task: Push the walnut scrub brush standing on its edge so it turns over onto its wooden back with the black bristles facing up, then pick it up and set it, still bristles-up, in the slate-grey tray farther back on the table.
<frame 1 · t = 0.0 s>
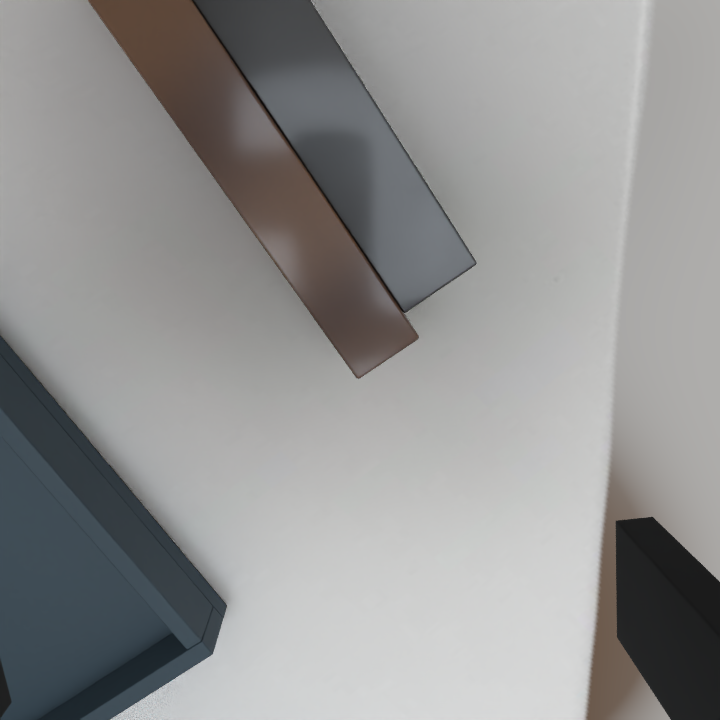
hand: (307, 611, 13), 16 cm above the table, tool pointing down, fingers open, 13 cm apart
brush: (284, 124, 26), on the table
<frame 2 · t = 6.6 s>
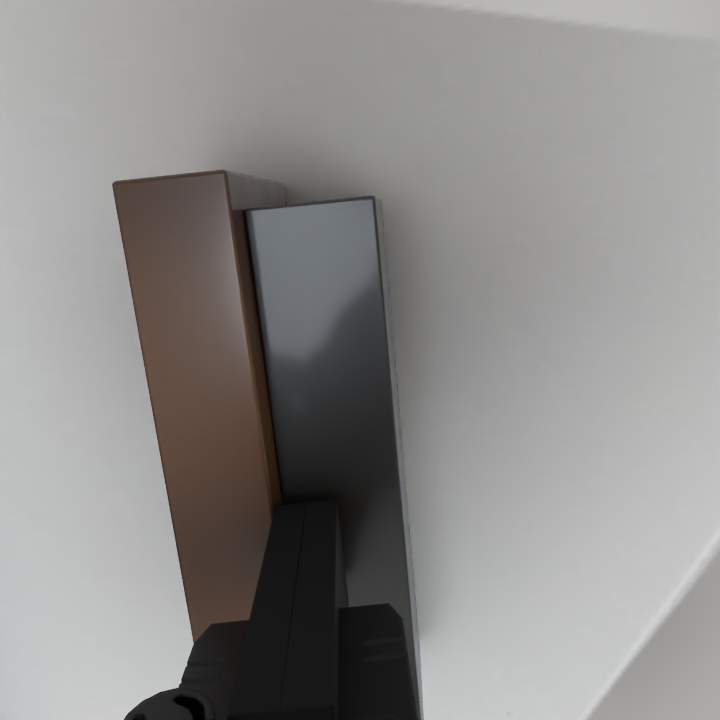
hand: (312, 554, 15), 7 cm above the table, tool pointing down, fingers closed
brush: (323, 450, 22), on the table, touching gripper
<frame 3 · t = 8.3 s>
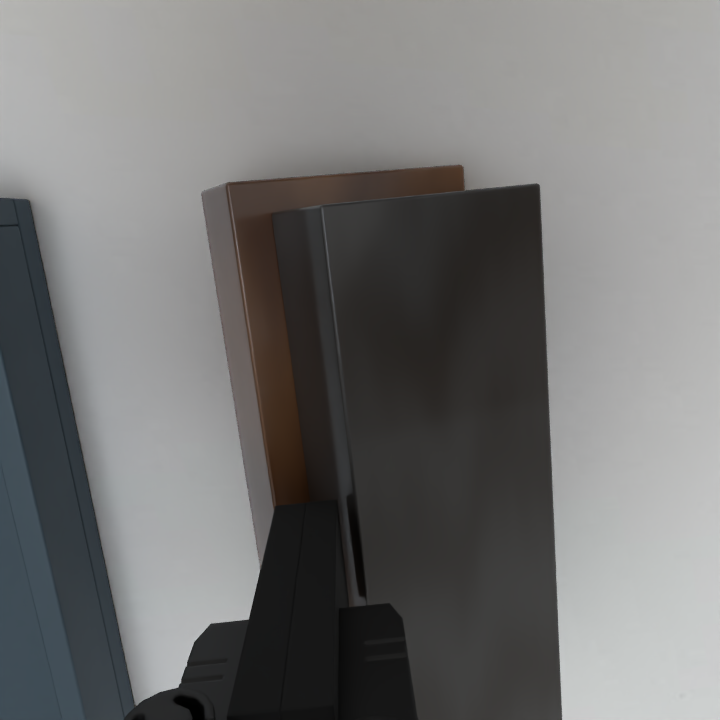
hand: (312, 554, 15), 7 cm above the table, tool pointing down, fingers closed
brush: (489, 461, 20), point 2 cm above the table, tilted 64°, touching gripper
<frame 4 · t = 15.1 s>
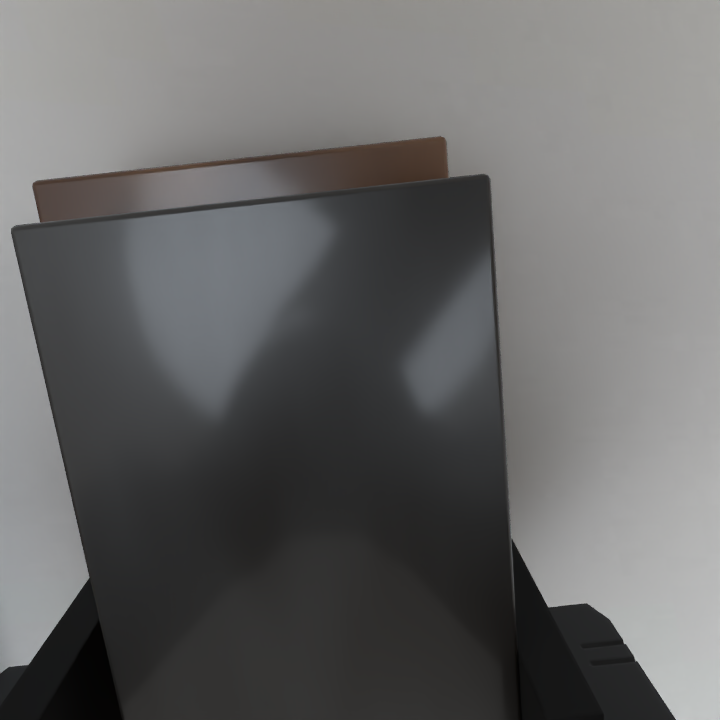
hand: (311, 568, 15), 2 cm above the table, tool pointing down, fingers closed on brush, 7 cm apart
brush: (483, 617, 12), point 4 cm above the table, tilted 90°, touching gripper
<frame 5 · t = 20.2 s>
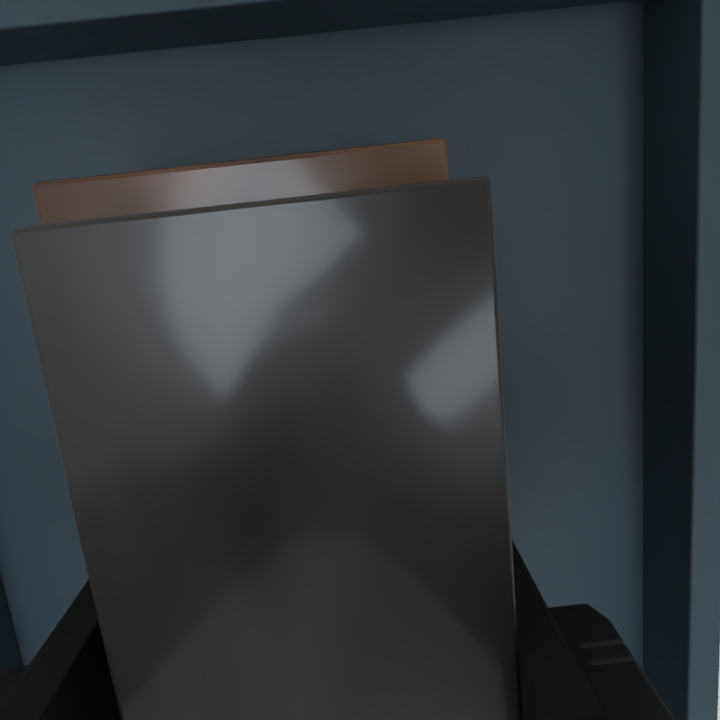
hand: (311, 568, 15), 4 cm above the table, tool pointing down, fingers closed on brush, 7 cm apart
tray: (319, 495, 18), on the table
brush: (484, 619, 12), point 6 cm above the table, tilted 90°, touching gripper
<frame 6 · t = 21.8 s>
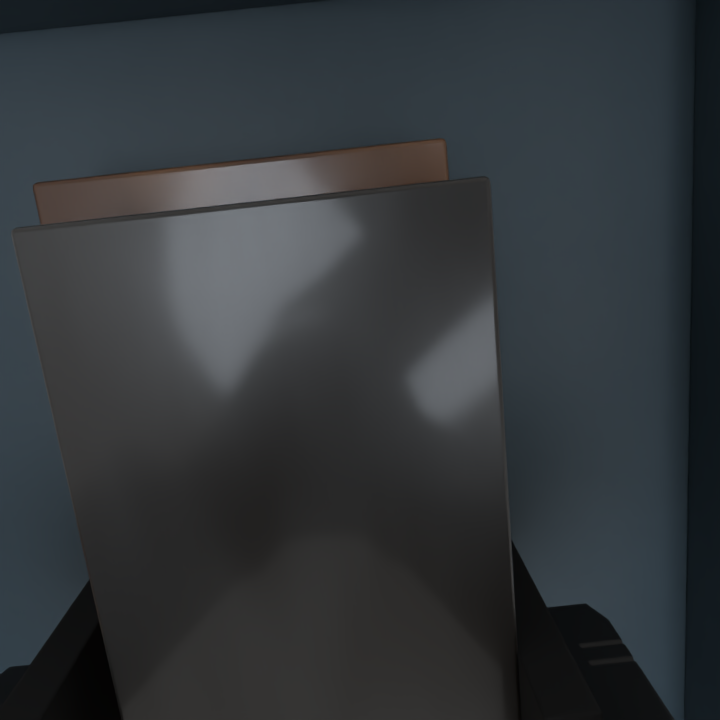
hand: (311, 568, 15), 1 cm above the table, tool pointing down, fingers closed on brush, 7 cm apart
tray: (312, 541, 16), on the table
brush: (484, 619, 12), point 4 cm above the table, tilted 90°, touching gripper
when the fingers open (2 cm above the table, at t = 25.1 s): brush stays where it is, resting on tray.
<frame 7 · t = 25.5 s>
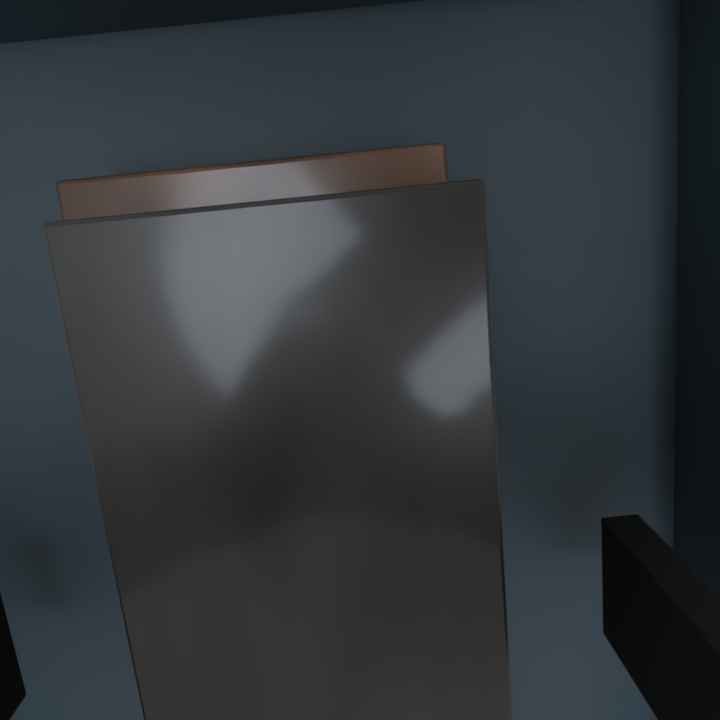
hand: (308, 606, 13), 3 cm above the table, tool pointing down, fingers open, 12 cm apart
tray: (314, 527, 17), on the table
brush: (476, 598, 13), point 4 cm above the table, tilted 90°, touching tray
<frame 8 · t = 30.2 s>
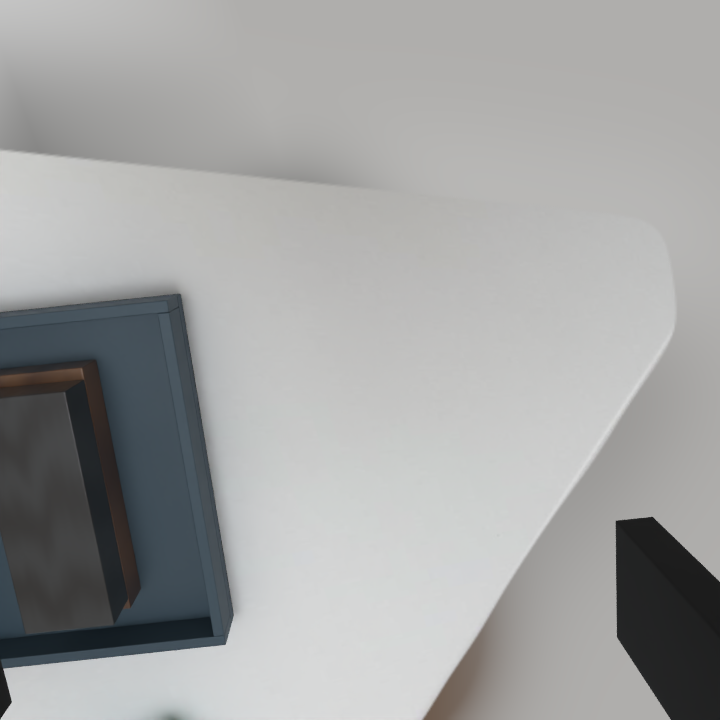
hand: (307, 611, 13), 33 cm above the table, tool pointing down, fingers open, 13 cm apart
tray: (77, 478, 47), on the table
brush: (106, 495, 43), point 4 cm above the table, tilted 90°, touching tray
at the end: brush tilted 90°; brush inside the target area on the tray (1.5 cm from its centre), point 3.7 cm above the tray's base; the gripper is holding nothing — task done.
